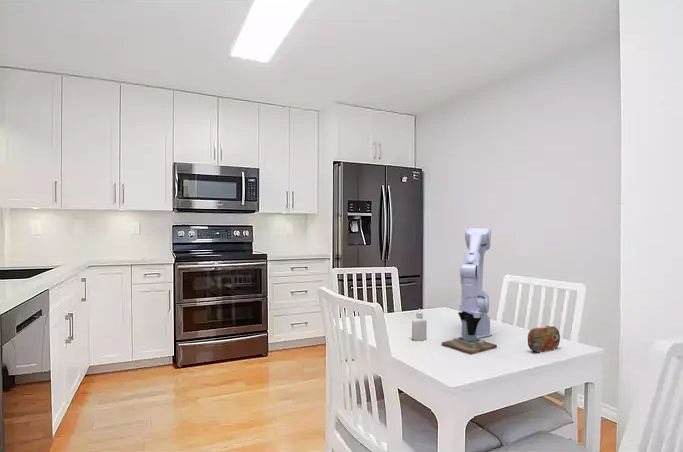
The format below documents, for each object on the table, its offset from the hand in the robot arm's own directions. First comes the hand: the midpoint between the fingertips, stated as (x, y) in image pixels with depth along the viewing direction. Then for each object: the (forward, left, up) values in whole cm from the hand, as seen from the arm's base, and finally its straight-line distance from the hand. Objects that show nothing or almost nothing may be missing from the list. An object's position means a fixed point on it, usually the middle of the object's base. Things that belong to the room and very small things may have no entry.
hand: (469, 333), depth 148 cm
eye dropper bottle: (+9, -17, -5) cm, 19 cm away
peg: (0, 0, -2) cm, 2 cm away
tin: (-19, +17, -5) cm, 27 cm away
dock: (0, 0, -5) cm, 5 cm away
